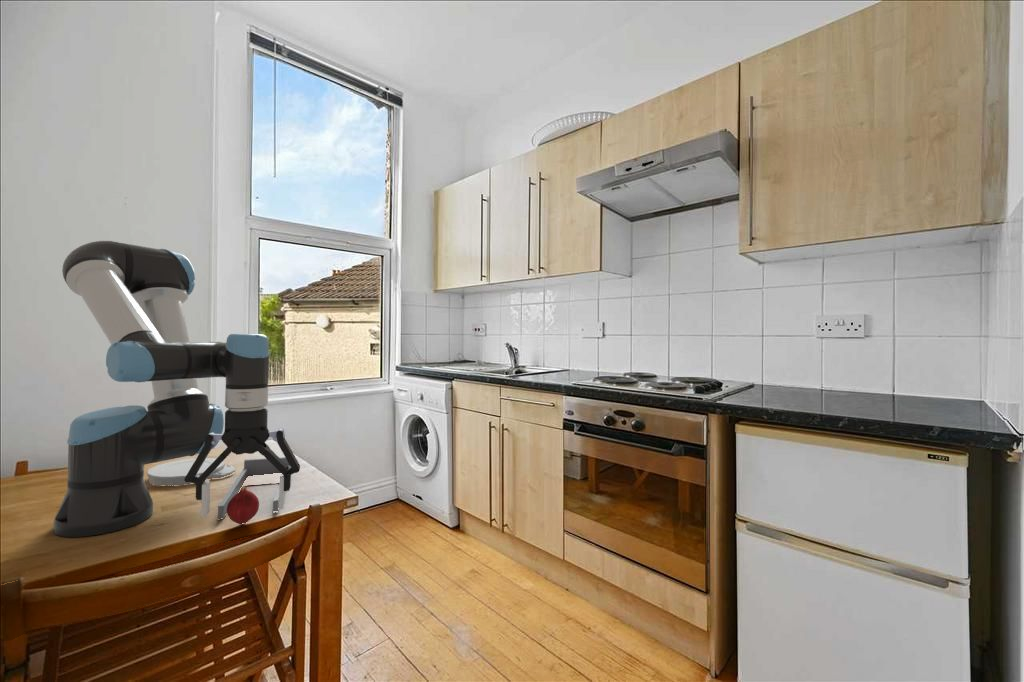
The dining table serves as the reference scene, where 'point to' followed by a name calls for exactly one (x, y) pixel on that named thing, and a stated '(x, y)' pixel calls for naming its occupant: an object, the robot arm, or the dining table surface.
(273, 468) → the channel
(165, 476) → the lid
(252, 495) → the onion
